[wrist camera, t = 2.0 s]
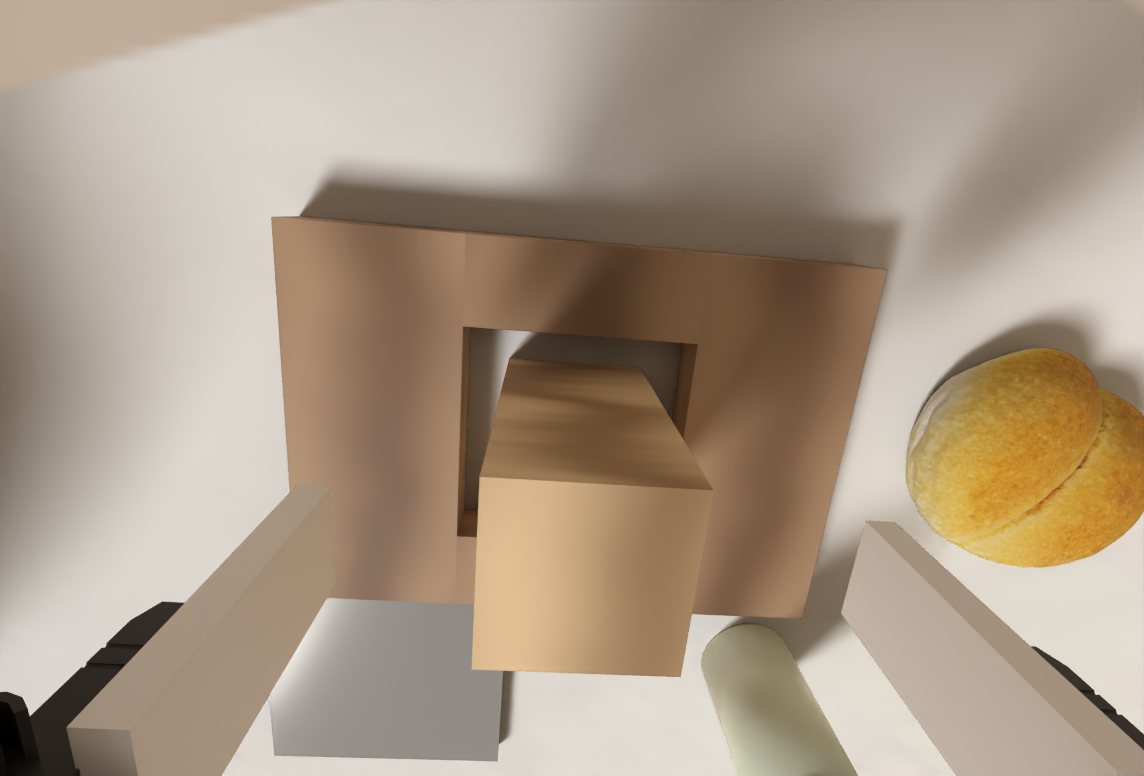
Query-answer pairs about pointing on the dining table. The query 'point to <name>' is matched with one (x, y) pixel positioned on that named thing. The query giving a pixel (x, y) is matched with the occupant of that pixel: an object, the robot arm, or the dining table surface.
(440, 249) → the walnut board
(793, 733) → the sage shaker
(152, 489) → the dining table surface
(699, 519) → the oak block
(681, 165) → the dining table surface
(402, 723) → the slate board
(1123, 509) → the bread roll
